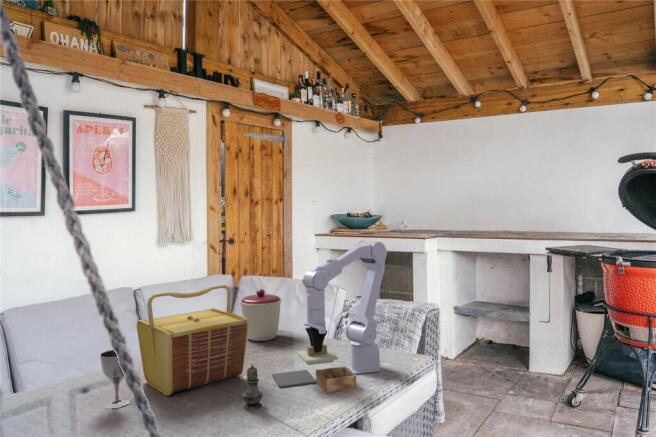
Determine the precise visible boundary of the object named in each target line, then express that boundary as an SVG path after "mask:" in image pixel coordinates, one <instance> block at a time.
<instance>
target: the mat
mask: <svg viewBox="0 0 656 437" xmlns="http://www.w3.org/2000/svg"><path fill="white" fill-rule="evenodd" d="M271 376H272V378H273V380H274V382H275V383H276V385H277V386H278V388H279V389H284V388H291V387H299V386H306V385H311V384H312V385H313V384H317V381H316V378H314V377H313V375H312V374H311V372H310V371H309V370H308V369H301V370H300V369H299V370H292V371H285V372H276V373H271Z"/></svg>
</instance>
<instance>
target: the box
mask: <svg viewBox="0 0 656 437" xmlns="http://www.w3.org/2000/svg"><path fill="white" fill-rule="evenodd" d="M315 380H316V381H317V383H316V385H318V387H319V388H320V389H321V390H322V392H323V393H324V394H330V393H337V392H345V391H352V390H357V375H356V374H354V373H353V372H352V371H351V370H349V369H348V368H347V366H345V365H344V366H336V367H326V368H321V369H319V368H318V369H315Z"/></svg>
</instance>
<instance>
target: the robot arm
mask: <svg viewBox="0 0 656 437" xmlns="http://www.w3.org/2000/svg"><path fill="white" fill-rule="evenodd" d="M387 254H388V250H387V248H386V246H385V244H384V242H382V241H368V240H367V241H366V240H360V241H358V242H356V243H354V244H353V246H352V247H351V248H350V249H348V250H347V251H346V252H344V253H343V254H342V255H340V256H339V257H338V258H332V257H331V258H330V257H329V258H327V259H326V262H324V263H322V264H321V265H317V266H316V267H315V269H314V270H313V269H310V270H307V272H305V274H304V276H303V278H302V279H301V280H302V285H303V286H304V287H305V292H306V293H305V294H306V322H305V321H304V322H303V326H304V327H305V328H304V329H305V331H306V333H307V336H308V340H309V343H310V346H313V349H314V352H315V353H317V352H321V350H322V346H323V345H324V340H325V338H326V336H327V334H328V330H327V327H326V325H327V324H326V323H327V322H326V313H325V312H326V309H325V308H326V307H325V306H326V304H325V302H326V301H325V300H326V298H325V297H326V296H325V290H326V288H327V286H328V284H329V282H330V281H331V280H333V279H335V278H337V277H338V276H339V275H341V274H342V273H343V268H345V267H347V266H348V265H350V264H352V263H353V262H355V261H357V260H360V261H361V262H362V263H363V265H365V266H366V268H367V274H366V277H365V282H364V285H363V289H362V293H361V297H360V300H359V304H358V309H357V311H356V312H357V313H355V314H354V315H353V316H351V317H350V321H349V323H348V324H347V326H346V328H345V335H346V336H345V337H346V338H347V340H348V342H349V344H350V365H346V367H347V368H348V369H349V370H350V371H351V372H352V373H353V374H354V375H359V374H360V375H361V374H367V373H374V372H381V370H382V369H381V367H380V364H381V363H380V362H381V361H380V359H381V358H380V348H379V345H378V343H377V342H375V340H376V338H377V326H378V325H377V323H376V321H375V320H374V318H373V317H374V313H375V309H376V305H377V302H378V298H379V294H380V289H381V286H382V282H383V277H384V274H385V269H386V264H385V262H386V258H387V256H388V255H387Z"/></svg>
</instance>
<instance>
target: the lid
mask: <svg viewBox="0 0 656 437" xmlns="http://www.w3.org/2000/svg"><path fill="white" fill-rule="evenodd" d="M296 354H297V356H298V357H299V358H300V359H301V360H302V361H303V363H305V364H306V365H308V366H313V365H321V364H328V363H334V361H338V360H339V356H337V355H336V354H335V353H334V352H333V351H331V349H329V348H328V346H327V345H326V344H323V346H322V350H321V352H317V353H315V352H314V349H313V346H311V345H308V346H307V347H306V350H299V351H296Z"/></svg>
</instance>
